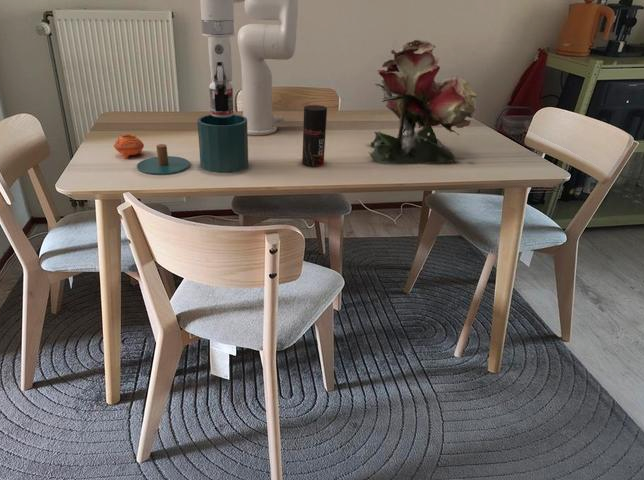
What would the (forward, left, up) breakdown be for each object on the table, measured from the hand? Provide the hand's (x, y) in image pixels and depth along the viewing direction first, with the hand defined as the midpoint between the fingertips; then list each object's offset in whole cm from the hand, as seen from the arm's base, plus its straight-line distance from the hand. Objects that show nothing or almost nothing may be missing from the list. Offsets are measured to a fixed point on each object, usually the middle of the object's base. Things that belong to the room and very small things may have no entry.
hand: (221, 107), depth 125 cm
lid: (+14, -8, -15) cm, 22 cm away
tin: (0, 0, -16) cm, 16 cm away
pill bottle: (0, 0, -2) cm, 2 cm away
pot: (+17, -22, -16) cm, 32 cm away
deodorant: (-21, +12, -16) cm, 29 cm away
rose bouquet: (-53, +20, -16) cm, 59 cm away
